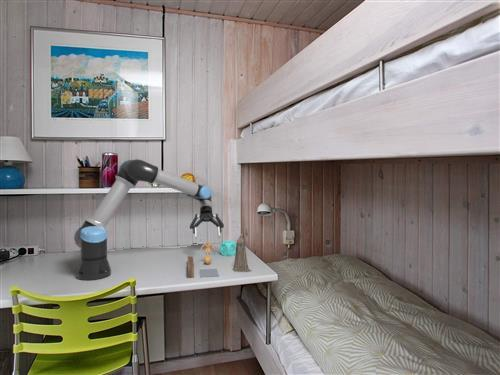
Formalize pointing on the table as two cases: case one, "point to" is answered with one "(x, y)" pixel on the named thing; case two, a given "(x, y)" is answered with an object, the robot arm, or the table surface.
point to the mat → (208, 273)
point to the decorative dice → (228, 248)
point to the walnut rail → (190, 267)
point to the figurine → (207, 259)
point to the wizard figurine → (241, 254)
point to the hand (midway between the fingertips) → (207, 237)
